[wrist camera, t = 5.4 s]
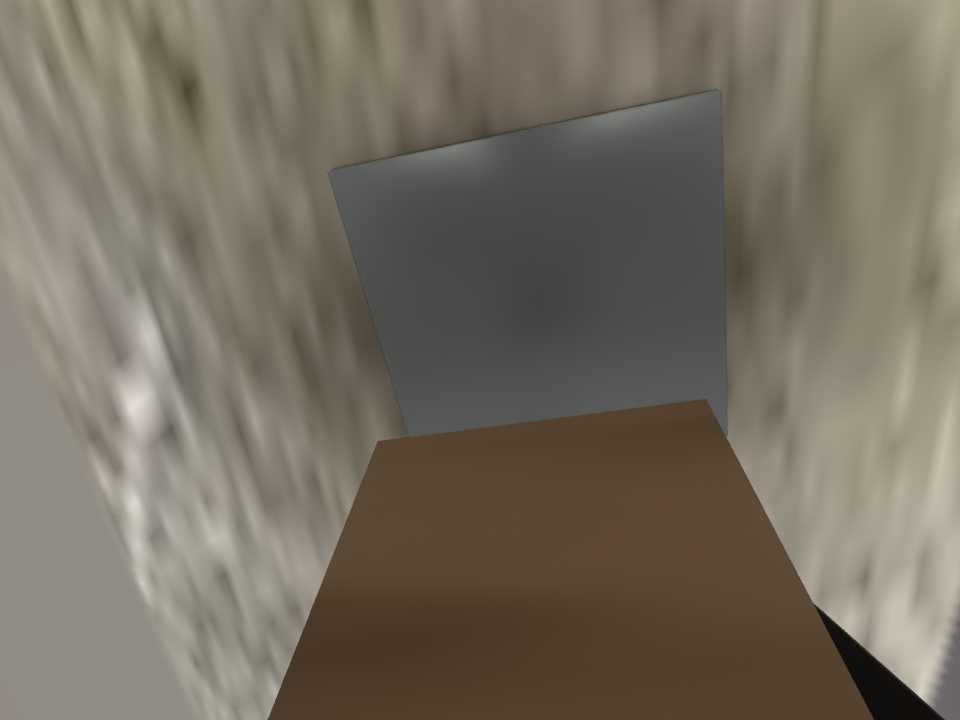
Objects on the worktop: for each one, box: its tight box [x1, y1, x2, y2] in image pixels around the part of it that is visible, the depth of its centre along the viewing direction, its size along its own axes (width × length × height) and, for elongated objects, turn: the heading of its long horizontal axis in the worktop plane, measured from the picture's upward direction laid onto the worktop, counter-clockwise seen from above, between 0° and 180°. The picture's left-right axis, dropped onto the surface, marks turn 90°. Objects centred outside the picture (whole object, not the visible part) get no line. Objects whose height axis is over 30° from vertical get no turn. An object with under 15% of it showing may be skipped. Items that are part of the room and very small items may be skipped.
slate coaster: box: [328, 89, 728, 437], centre depth 17 cm, size 10×10×1 cm
